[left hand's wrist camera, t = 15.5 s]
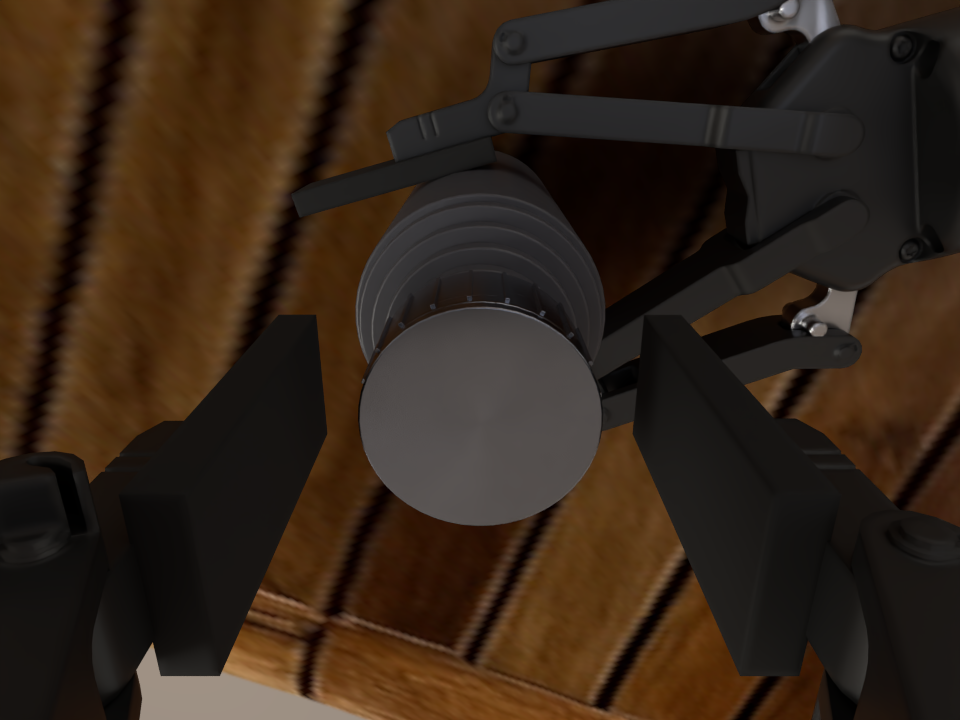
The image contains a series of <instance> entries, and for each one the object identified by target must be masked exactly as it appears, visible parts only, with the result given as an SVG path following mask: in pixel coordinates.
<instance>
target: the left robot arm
mask: <svg viewBox="0 0 960 720" xmlns="http://www.w3.org/2000/svg"><path fill="white" fill-rule="evenodd" d="M326 435H327V425H326V415H325V404H324V394H323V383H322V373H321V362H320V352H319V341H318V331H317V320H316V315H278V316H277V317H276V319H275V320H274V321H273V322H272V323H271V324H270V325H269V326H268V328H267V329H266V330H265V331H264V332H263V333H262V334H261V335H260V336H259V338H258V339H257V340H256V341H255V342H254V343H253V344H252V345H251V347H250V348H249V349H248V350H247V351H246V352H245V353H244V354H243V356H242V357H241V358H240V359H239V360H238V361H237V362H236V363H235V365H234V366H233V367H232V368H231V369H230V370H229V371H228V372H227V373H226V375H225V376H224V377H223V378H222V379H221V380H220V381H219V382H218V384H217V385H216V386H215V387H214V388H213V389H212V390H211V391H210V393H209V394H208V395H207V396H206V397H205V398H204V399H203V400H202V401H201V403H200V404H199V405H198V406H197V407H196V408H195V409H194V410H193V412H192V413H191V414H190V415H189V416H188V417H187V418H186V419H185V421H163V422H162V423H160V424H158V425H156V426H154V427H152V428H151V429H149V430H147V431H145V432H143V433H141V434H140V435H138V436H136V437H135V438H134V440H133V441H132V442H131V443H130V444H129V445H128V446H127V447H126V448H125V449H124V450H123V451H122V452H121V453H120V457H116V458H115V459H114V460H113V461H112V462H111V463H110V464H109V465H108V466H107V467H106V468H105V472H101V473H100V474H99V475H98V476H97V477H96V478H95V479H94V480H93V481H92V482H91V483H90V484H89V480H88V476H87V472H86V468H85V464H84V461H83V460H82V459H80V458H79V457H77V456H75V455H74V454H69V453H63V452H56V451H54V452H39V453H29V454H25V455H20V456H16V457H11V458H6V459H3V460H1V461H0V720H139V718H140V710H141V703H142V695H141V689H140V684H139V679H138V675H137V671H136V669H137V668H138V666H139V664H140V663H141V661H142V659H143V657H144V656H145V654H146V652H147V651H148V649H149V647H150V646H151V644H152V642H153V645H154V649H155V653H156V657H157V662H158V666H159V670H160V674H161V676H220V674H221V672H222V670H223V668H224V665H225V663H226V661H227V659H228V656H229V654H230V652H231V650H232V647H233V645H234V643H235V641H236V638H237V636H238V634H239V632H240V629H241V627H242V625H243V623H244V620H245V618H246V616H247V614H248V611H249V609H250V607H251V605H252V602H253V600H254V598H255V596H256V593H257V591H258V589H259V587H260V584H261V582H262V580H263V577H264V575H265V573H266V571H267V568H268V566H269V564H270V562H271V559H272V557H273V555H274V553H275V550H276V548H277V546H278V544H279V541H280V539H281V537H282V535H283V532H284V530H285V528H286V526H287V523H288V521H289V519H290V517H291V514H292V512H293V510H294V508H295V505H296V503H297V501H298V499H299V496H300V494H301V492H302V490H303V487H304V485H305V483H306V481H307V478H308V476H309V474H310V472H311V469H312V467H313V465H314V462H315V460H316V458H317V456H318V453H319V451H320V449H321V447H322V444H323V442H324V440H325V438H326ZM633 435H634V438H635V440H636V442H637V444H638V447H639V449H640V451H641V453H642V456H643V458H644V460H645V462H646V465H647V467H648V469H649V472H650V474H651V476H652V478H653V481H654V483H655V485H656V487H657V490H658V492H659V494H660V496H661V499H662V501H663V503H664V505H665V508H666V510H667V512H668V514H669V517H670V519H671V521H672V523H673V526H674V528H675V530H676V532H677V535H678V537H679V539H680V541H681V544H682V546H683V548H684V550H685V553H686V555H687V557H688V559H689V562H690V564H691V566H692V568H693V571H694V573H695V575H696V577H697V580H698V582H699V584H700V587H701V589H702V591H703V593H704V596H705V598H706V600H707V602H708V605H709V607H710V609H711V611H712V614H713V616H714V618H715V620H716V623H717V625H718V627H719V629H720V632H721V634H722V636H723V638H724V641H725V643H726V645H727V647H728V650H729V652H730V654H731V656H732V659H733V661H734V663H735V665H736V668H737V670H738V672H739V674H740V676H799V675H800V670H801V666H802V662H803V657H804V653H805V649H806V645H807V640H809V642H810V644H811V646H812V647H813V649H814V651H815V652H816V654H817V656H818V657H819V659H820V661H821V662H822V664H823V666H824V671H823V675H822V679H821V683H820V687H819V691H818V695H817V699H816V703H815V707H814V711H813V715H812V719H811V720H960V527H958V526H955V525H953V524H951V523H948V522H946V521H944V520H941V519H939V518H937V517H933V516H929V515H925V514H921V513H917V512H913V511H903V510H899V509H898V508H897V507H896V506H895V505H894V504H893V503H892V502H891V501H890V500H889V499H888V498H887V497H886V496H885V495H884V494H883V493H882V492H881V491H880V490H879V489H878V488H877V487H876V486H875V485H874V484H873V483H872V482H871V481H870V480H869V479H868V478H867V477H866V476H865V475H864V474H863V473H862V472H861V471H860V470H859V469H856V468H855V465H854V464H853V463H852V462H851V461H850V460H849V459H848V458H847V457H846V456H845V455H841V451H840V450H839V449H838V448H837V447H836V446H835V445H834V444H833V443H832V442H831V441H830V440H829V439H828V438H827V437H826V436H825V435H824V434H823V433H821V432H820V431H818V430H816V429H814V428H812V427H810V426H809V425H807V424H805V423H803V422H801V421H799V420H798V419H774V418H773V417H772V416H771V415H770V414H769V413H768V412H767V410H766V409H765V408H764V407H763V406H762V405H761V404H760V403H759V401H758V400H757V399H756V398H755V397H754V396H753V395H752V394H751V393H750V391H749V390H748V389H747V388H746V387H745V386H744V385H743V384H742V382H741V381H740V380H739V379H738V378H737V377H736V376H735V375H734V373H733V372H732V371H731V370H730V369H729V368H728V367H727V366H726V365H725V363H724V362H723V361H722V360H721V359H720V358H719V357H718V356H717V354H716V353H715V352H714V351H713V350H712V349H711V348H710V347H709V345H708V344H707V343H706V342H705V341H704V340H703V339H702V338H701V336H700V335H699V334H698V333H697V332H696V331H695V330H694V329H693V328H692V326H691V325H690V324H689V323H688V322H687V321H686V320H685V319H684V317H683V316H682V315H644V320H643V331H642V341H641V352H640V362H639V373H638V383H637V394H636V404H635V415H634V425H633Z"/></svg>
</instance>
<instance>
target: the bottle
mask: <svg viewBox="0 0 960 720" xmlns="http://www.w3.org/2000/svg"><path fill="white" fill-rule="evenodd" d="M495 155H496V159H497V162H494V163H490V164H486V165H483V166H479V167H476V168H472V169H469V170H465V171H462V172H458V173H454V174H451V175H448V176H444V177H441V178H437V179H434V180H430V181H427V182H423V183H420V184H417V185H416V187H415V188H414V190H413V191H412V193H411V194H410V196H409V197H408V199H407V200H406V202H405V203H404V205H403V206H402V208H401V209H400V211H399V213H398V214H397V216H396V217H395V219H394V220H393V222H392V223H391V225H390V226H389V228H388V229H387V231H386V232H385V234H384V235H383V237H382V238H381V240H380V241H379V243H378V244H377V246H376V247H375V249H374V251H373V252H372V254H371V256H370V257H369V259H368V261H367V263H366V266H365V268H364V270H363V273H362V275H361V279H360V283H359V287H358V291H357V299H356V326H357V332H358V338H359V341H360V344H361V348H362V351H363V353H364V356H365V358H366V360H367V362H368V364H369V361H370V359H371V356H372V354H373V351H374V349H375V347H376V344H378V341H379V339H380V336H381V334H382V331H383V329H384V326H385V324H386V321H387V319H388V317H389V316H390V317H393V315H394V314H395V312H396V311H397V310H398V308H399V307H400V306H401V305H402V304H403V303H404V302H405V301H406V300H407V297H408V295H409V294H410V293H412V295H413V294H414V293H415V292H417V291H418V290H420V289H421V288H423V287H425V286H426V285H428V284H430V283H432V282H434V281H436V278H438V277H440V278H444V277H447V276H450V275H454V274H459V273H465V272H469V270H473V272H476V271H487V272H498V273H502V272H506V273H507V275H511V276H514V277H517V278H520V279H523V280H525V281H527V282H529V283H531V284H533V283H536V284H537V285H538V288H540V289H541V290H543V291H544V292H546V293H547V294H548V295H550V296H551V297H552V298H553V299H554V300H555V301H556V302H557V303H559V302H561V303H562V304H563V307H564V309H565V312H566V313H567V315H568V316H569V318H570V320H571V321H572V323H573V324H574V326H575V329H576V328H579V330H580V332H581V335H582V337H583V340H584V342H585V344H586V347H587V349H588V352H589V354H590V357H591V359H592V361H593V363H594V360H595V358H596V355H597V353H598V351H599V348H600V344H601V341H602V337H603V332H604V325H605V299H604V292H603V286H602V283H601V280H600V276H599V273H598V270H597V268H596V266H595V264H594V261H593V259H592V257H591V256H590V254H589V252H588V251H587V249H586V248H585V246H584V244H583V243H582V241H581V240H580V238H579V237H578V235H577V234H576V232H575V231H574V229H573V228H572V226H571V225H570V223H569V222H568V220H567V219H566V217H565V216H564V214H563V213H562V211H561V210H560V208H559V207H558V205H557V204H556V202H555V201H554V199H553V198H552V196H551V195H550V193H549V192H548V190H547V189H546V187H545V186H544V184H543V183H542V181H541V180H540V179H539V177H538V176H537V175H536V174H535V173H534V172H533V171H532V170H531V169H530V168H529V167H528V166H527V165H525V164H524V163H523V162H521V161H520V160H518V159H516V158H514V157H512V156H510V155H508V154H505V153H502V152H499V151H495ZM591 366H592V365H591Z"/></svg>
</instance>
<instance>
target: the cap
mask: <svg viewBox="0 0 960 720" xmlns="http://www.w3.org/2000/svg"><path fill="white" fill-rule="evenodd" d="M591 365H593V361H592V359H591V357H590V354H589V352H588V349H587V347H586V344H585V342H584V340H583V337H582V335H581V332H580V330H579V328H576V329H575V326H574V324H573V323H572V321H571V320H570V318H569V316H568V315H567V313H566V312H565V309H564V307H563V304H562V303H561V302H559V303H557V302H556V301H555V300H554V299H553V298H552V297H551V296H550V295H548V294H547V293H546V292H544V291H543V290H541V289H540V288H538V285H537V284H536V283H533V284H531V283H529V282H527V281H525V280H523V279H520V278H517V277H514V276H511V275H507V273H506V272H502V273H498V272H487V271H476V272H473V270H469V272H465V273H459V274H454V275H450V276H447V277H444V278H440V277H438V278H436V281H434V282H432V283H430V284H428V285H426V286H425V287H423V288H421V289H420V290H418V291H417V292H415V293H414V294H413V295H412V293H410V294H409V295H408V297H407V300H406V301H405V302H404V303H403V304H402V305H401V306H400V307H399V308H398V310H397V311H396V312H395V314H394V315H393V317H390V316H389V317H388V319H387V321H386V324H385V326H384V329H383V331H382V334H381V336H380V339H379V341H378V344H376V347H375V349H374V351H373V354H372V356H371V359H370V361H369V364H368V366H367V369H366V371H365V374H364V376H363V378H362V382H361V383H363V387H362V390H361V395H360V401H359V408H358V423H359V431H360V437H361V441H362V444H363V448H364V450H365V453H366V455H367V457H368V460H369V462H370V464H371V465H372V467H373V469H374V470H375V472H376V474H377V475H378V476H379V478H380V479H381V480H382V481H383V483H384V484H385V485H386V486H387V487H388V488H389V489H390V490H391V491H392V492H393V493H394V494H395V495H396V496H397V497H399V498H400V499H401V500H403V501H404V502H405V503H407V504H408V505H410V506H412V507H413V508H415V509H417V510H418V511H420V512H422V513H425V514H427V515H429V516H432V517H434V518H437V519H440V520H444V521H447V522H451V523H457V524H462V525H474V526H486V525H498V524H505V523H510V522H514V521H518V520H521V519H524V518H527V517H529V516H532V515H535V514H537V513H539V512H541V511H542V510H544V509H546V508H548V507H550V506H551V505H553V504H554V503H556V502H557V501H559V500H560V499H561V498H562V497H564V496H565V495H566V494H567V493H568V492H569V491H570V490H571V489H572V488H573V487H574V486H575V485H576V484H577V483H578V482H579V480H580V479H581V478H582V477H583V475H584V474H585V472H586V471H587V469H588V468H589V466H590V464H591V462H592V460H593V458H594V456H595V454H596V451H597V448H598V445H599V442H600V438H601V432H602V427H603V407H602V398H601V397H602V393H601V390H600V388H599V385H598V383H597V380H596V378H595V375H594V373H593V370H592V368H591Z"/></svg>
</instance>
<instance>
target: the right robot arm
mask: <svg viewBox="0 0 960 720" xmlns="http://www.w3.org/2000/svg"><path fill="white" fill-rule="evenodd" d="M743 20H748V22H749V25H750V27H751V28H752V30H753V31H755V32H756V33H758V34H760V35H769V34H774V33H779V32H785V33H787V34H789V35H790V36H791V37H793V39H794V40H795V42H796V45H795V46H794V47H793V48H792V49H791V50H790V51H789V53H788V54H787V55H786V56H785V57H784V58H783V59H782V60H781V62H780V63H779V64H778V65H777V66H776V67H775V68H774V69H773V71H772V72H771V73H770V74H769V75H768V76H767V77H766V79H765V80H764V81H763V82H762V83H761V84H760V85H759V86H758V88H757V89H756V90H755V91H754V92H753V93H752V94H751V95H750V97H749V98H748V99H747V100H746V101H745V102H744V103H743V104H742V106H741V107H738V106H723V105H709V104H694V103H680V102H665V101H651V100H637V99H622V98H608V97H593V96H579V95H565V94H550V93H536V92H528V90H529V80H530V70H531V64H532V63H537V62H542V61H548V60H553V59H558V58H563V57H568V56H574V55H579V54H584V53H589V52H594V51H600V50H605V49H610V48H615V47H620V46H626V45H631V44H636V43H641V42H646V41H652V40H657V39H662V38H667V37H672V36H678V35H683V34H688V33H693V32H699V31H704V30H709V29H713V28H717V27H720V26H724V25H728V24H732V23H736V22H740V21H743ZM503 133H517V134H532V135H546V136H561V137H576V138H591V139H605V140H620V141H635V142H649V143H664V144H679V145H694V146H706V147H714V148H715V149H716V156H717V163H718V169H719V171H720V173H721V175H722V178H723V180H724V182H725V184H726V187H727V196H726V203H725V211H724V213H725V221H726V228H725V229H724V230H722V231H721V232H719V233H717V234H716V235H714V236H713V237H711V238H710V239H708V240H707V241H705V243H704V244H703V245H702V247H701V249H700V250H699V251H697V252H696V253H694V254H693V255H691V256H690V257H688V258H686V259H685V260H683V261H682V262H680V263H678V264H677V265H675V266H674V267H672V268H671V269H669V270H667V271H666V272H664V273H663V274H661V275H659V276H658V277H656V278H655V279H653V280H651V281H650V282H648V283H647V284H645V285H643V286H642V287H640V288H639V289H637V290H635V291H634V292H632V293H631V294H629V295H627V296H626V297H624V298H623V299H621V300H619V301H618V302H616V303H615V304H613V305H611V306H610V307H608V308H607V309H605V325H604V332H603V337H602V341H601V344H600V348H599V351H598V353H597V355H596V358H595V360H594V363H593V365H592V366H591V368H592V370H593V373H594V375H595V378H596V380H597V383H598V385H599V388H600V390H601V393H602V397H601V398H602V407H603V427H602V431H604V430H608V429H611V428H614V427H617V426H620V425H623V424H626V423H629V422H632V421H634V415H635V404H636V394H637V383H638V373H639V362H640V358H637V359H634V360H631V359H633V358H635V357H636V356H638V355H640V352H641V341H642V331H643V320H644V315H682V316H683V317H684V319H685V320H686V321H687V322H688V323H689V324H691V323H693V322H695V321H696V320H698V319H699V318H701V317H703V316H704V315H706V314H708V313H709V312H711V311H713V310H714V309H716V308H718V307H719V306H721V305H723V304H724V303H726V302H728V301H729V300H731V299H733V298H735V297H737V296H739V295H747V294H751V293H754V292H756V291H758V290H760V289H762V288H764V287H765V286H767V285H769V284H770V283H772V282H774V281H775V280H777V279H779V278H780V277H782V276H784V275H785V274H787V273H789V272H790V273H792V274H795V275H797V276H800V277H802V278H805V279H807V280H810V281H813V282H815V283H817V285H816V288H815V290H814V291H813V293H812V294H810V295H809V296H808V297H806V298H804V299H801V300H797V301H794V302H790V303H787V304H786V305H785V306H784V307H783V309H782V313H783V314H782V315H772V316H766V317H760V318H756V319H753V320H749V321H746V322H743V323H740V324H737V325H734V326H731V327H728V328H725V329H722V330H719V331H716V332H713V333H711V334H708V335H705V336H702V337H701V338H702V339H703V340H704V341H705V342H706V343H707V344H708V345H709V347H710V348H711V349H712V350H713V351H714V352H715V353H716V354H717V356H718V357H719V358H720V359H721V360H722V361H723V362H724V363H725V365H726V366H727V367H728V368H729V369H730V370H731V371H732V372H733V373H734V375H735V376H736V377H737V378H738V379H739V380H740V381H741V382H742V384H743V385H745V384H748V383H751V382H754V381H757V380H761V379H764V378H767V377H770V376H773V375H776V374H779V373H782V372H785V371H788V370H791V369H818V368H845V367H849V366H851V365H852V364H854V363H855V362H856V361H857V360H858V359H859V357H860V355H861V353H862V345H861V343H860V342H859V340H857V339H856V338H855V337H853V336H852V335H850V334H849V330H850V325H851V320H852V315H853V310H854V305H855V300H856V295H857V290H860V289H863V288H865V287H867V286H869V285H871V284H872V283H873V282H875V281H876V280H877V279H878V278H880V277H881V276H882V275H884V274H885V273H886V272H888V271H890V270H892V269H894V268H896V267H898V266H900V265H903V264H908V263H913V262H919V261H925V260H930V259H935V258H940V257H944V256H948V255H952V254H956V253H960V7H957V8H953V9H950V10H946V11H943V12H939V13H936V14H932V15H929V16H925V17H922V18H918V19H915V20H911V21H908V22H904V23H901V24H897V25H894V26H890V27H887V28H883V29H880V30H869V29H864V28H861V27H858V26H854V25H840V22H839V19H838V16H837V13H836V10H835V7H834V4H833V1H832V0H610V1H605V2H600V3H594V4H589V5H584V6H579V7H574V8H569V9H564V10H559V11H554V12H549V13H544V14H539V15H533V16H528V17H523V18H518V19H513V20H509V21H507V22H505V23H503V24H502V25H501V26H500V27H499V28H498V29H497V31H496V33H495V35H494V39H493V42H492V54H491V66H490V77H489V82H488V85H487V87H486V89H485V90H484V91H483V93H482V94H481V95H479V96H478V97H476V98H474V99H472V100H469V101H465V102H462V103H458V104H455V105H452V106H448V107H445V108H441V109H438V110H435V111H431V112H428V113H424V114H421V115H418V116H414V117H411V118H407V119H404V120H401V121H399V122H398V123H397V124H396V125H394V126H393V127H392V128H391V129H390V130H388V131H387V132H386V134H387V137H388V140H389V143H390V146H391V150H392V153H393V156H394V159H393V160H390V161H386V162H383V163H379V164H376V165H373V166H369V167H366V168H362V169H359V170H355V171H352V172H348V173H345V174H341V175H338V176H334V177H331V178H328V179H324V180H321V181H317V182H314V183H311V184H309V185H307V186H305V187H303V188H302V189H300V190H298V191H296V192H294V193H293V194H291V195H292V198H293V201H294V204H295V206H296V209H297V212H298V214H299V217H303V216H307V215H310V214H314V213H317V212H321V211H324V210H328V209H331V208H335V207H338V206H342V205H346V204H349V203H353V202H356V201H360V200H363V199H367V198H370V197H374V196H377V195H381V194H384V193H388V192H391V191H395V190H398V189H402V188H405V187H409V186H412V185H416V184H420V183H423V182H427V181H430V180H434V179H437V178H441V177H444V176H448V175H451V174H454V173H458V172H462V171H465V170H469V169H472V168H476V167H479V166H483V165H486V164H490V163H494V162H497V159H496V155H495V151H494V147H493V143H492V139H491V137H492V136H496V135H499V134H503ZM630 360H631V361H630Z"/></svg>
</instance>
